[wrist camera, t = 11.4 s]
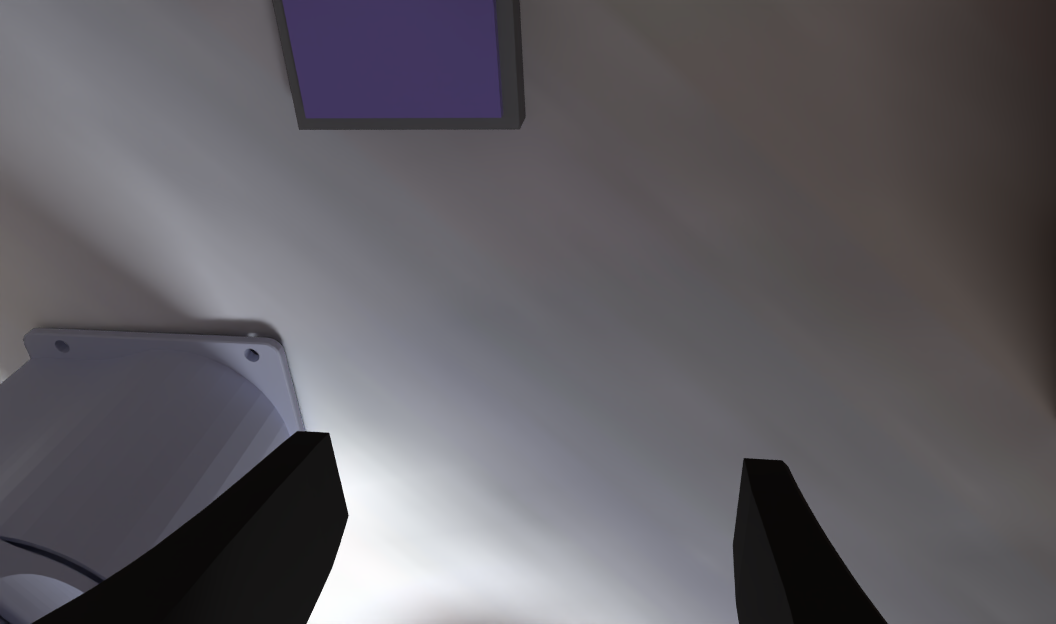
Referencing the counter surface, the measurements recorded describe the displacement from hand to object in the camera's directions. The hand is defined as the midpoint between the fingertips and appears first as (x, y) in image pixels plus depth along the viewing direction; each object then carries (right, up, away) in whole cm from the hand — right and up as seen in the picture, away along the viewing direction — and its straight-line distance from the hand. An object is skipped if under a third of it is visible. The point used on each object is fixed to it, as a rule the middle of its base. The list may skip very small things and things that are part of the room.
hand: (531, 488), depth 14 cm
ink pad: (-3, +10, +7) cm, 13 cm away
